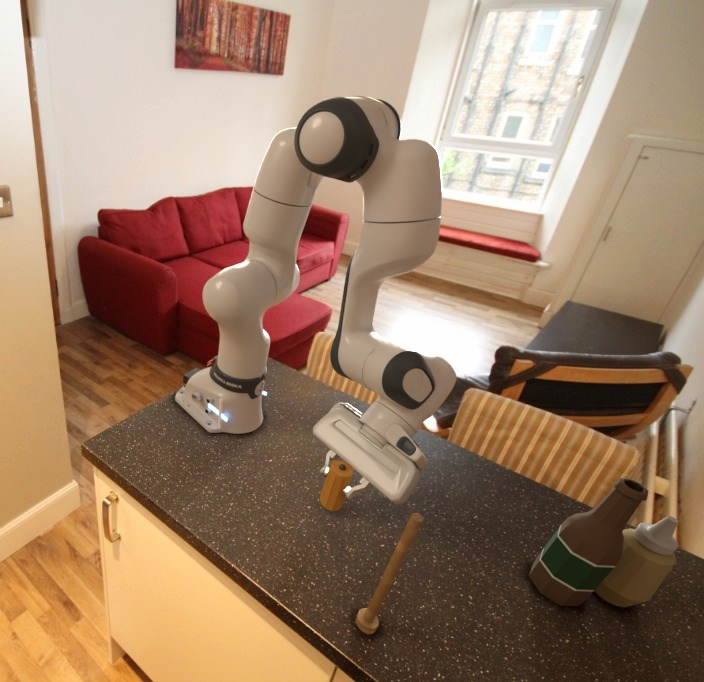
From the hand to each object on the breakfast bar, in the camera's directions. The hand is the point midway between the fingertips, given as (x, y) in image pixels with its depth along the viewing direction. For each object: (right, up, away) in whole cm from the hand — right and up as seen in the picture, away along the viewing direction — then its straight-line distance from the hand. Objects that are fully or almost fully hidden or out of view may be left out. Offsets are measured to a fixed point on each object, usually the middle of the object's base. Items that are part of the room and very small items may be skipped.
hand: (334, 485), depth 82 cm
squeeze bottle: (+44, -16, -7) cm, 47 cm away
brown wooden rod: (0, -16, -15) cm, 22 cm away
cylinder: (0, -4, +3) cm, 5 cm away
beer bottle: (+35, -15, -7) cm, 38 cm away
